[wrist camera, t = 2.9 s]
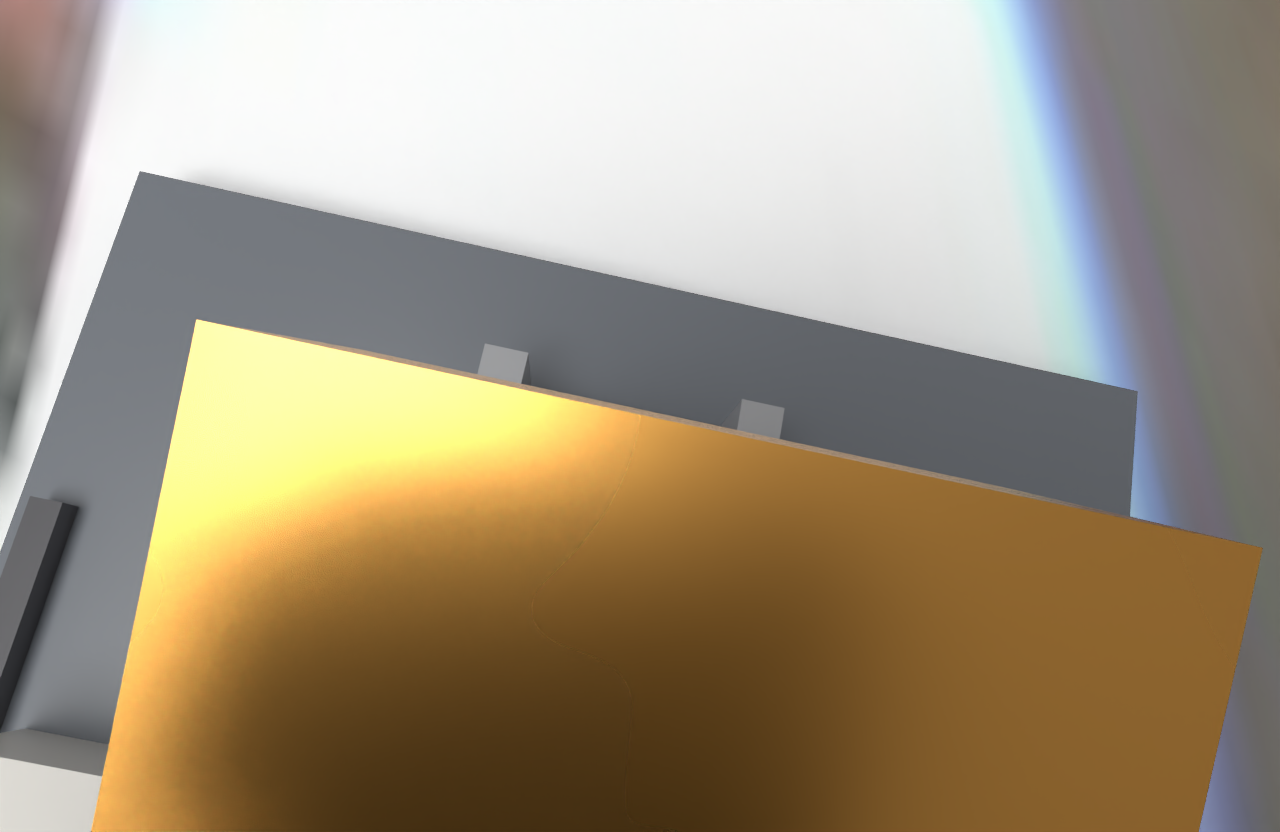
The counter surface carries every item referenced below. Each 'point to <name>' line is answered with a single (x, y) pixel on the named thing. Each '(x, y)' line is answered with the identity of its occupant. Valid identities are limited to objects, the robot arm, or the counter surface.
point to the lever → (636, 625)
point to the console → (475, 343)
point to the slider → (48, 781)
